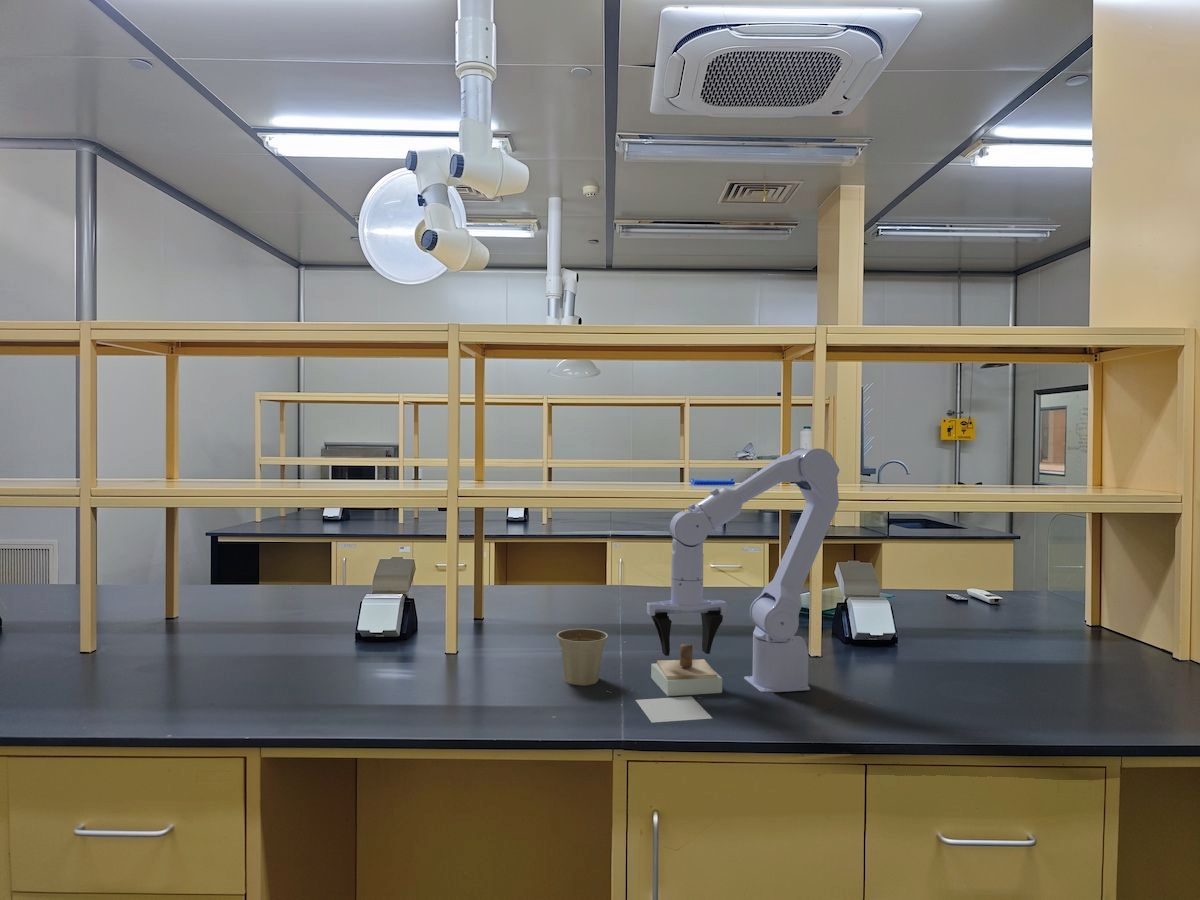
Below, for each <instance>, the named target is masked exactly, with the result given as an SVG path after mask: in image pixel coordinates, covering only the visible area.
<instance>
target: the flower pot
mask: <svg viewBox="0 0 1200 900" xmlns="http://www.w3.org/2000/svg"><path fill="white" fill-rule="evenodd" d="M556 638H557V639H558V643H559V646H560V649H561V650H560V651H561V658H562V659H561V660H562V670H563V680H564V682H565V683H567V684H569V685H574V686H575V685H576V686H590V685H594V684H596V683H598V681H599V678H600V670H601V663H602V657H603V652H604V647H605V646H606V640H608V638H609V635H608V633H606V632H605V631H602V630H598V629H591V628H571V629H565V630H561V631H558V632H557V633H556Z"/></svg>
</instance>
